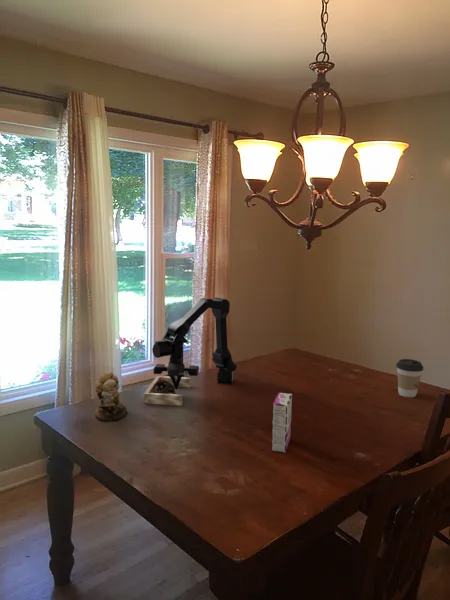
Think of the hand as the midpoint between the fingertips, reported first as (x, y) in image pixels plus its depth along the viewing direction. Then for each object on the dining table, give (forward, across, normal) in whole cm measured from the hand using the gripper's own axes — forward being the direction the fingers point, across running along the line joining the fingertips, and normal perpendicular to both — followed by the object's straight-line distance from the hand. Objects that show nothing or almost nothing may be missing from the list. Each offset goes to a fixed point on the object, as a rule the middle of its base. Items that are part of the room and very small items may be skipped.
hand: (176, 389), depth 208 cm
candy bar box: (+3, +43, -41) cm, 60 cm away
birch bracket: (+2, -4, 0) cm, 4 cm away
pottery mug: (+3, -5, -2) cm, 6 cm away
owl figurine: (+3, -21, -24) cm, 32 cm away
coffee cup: (+3, +100, +16) cm, 102 cm away
